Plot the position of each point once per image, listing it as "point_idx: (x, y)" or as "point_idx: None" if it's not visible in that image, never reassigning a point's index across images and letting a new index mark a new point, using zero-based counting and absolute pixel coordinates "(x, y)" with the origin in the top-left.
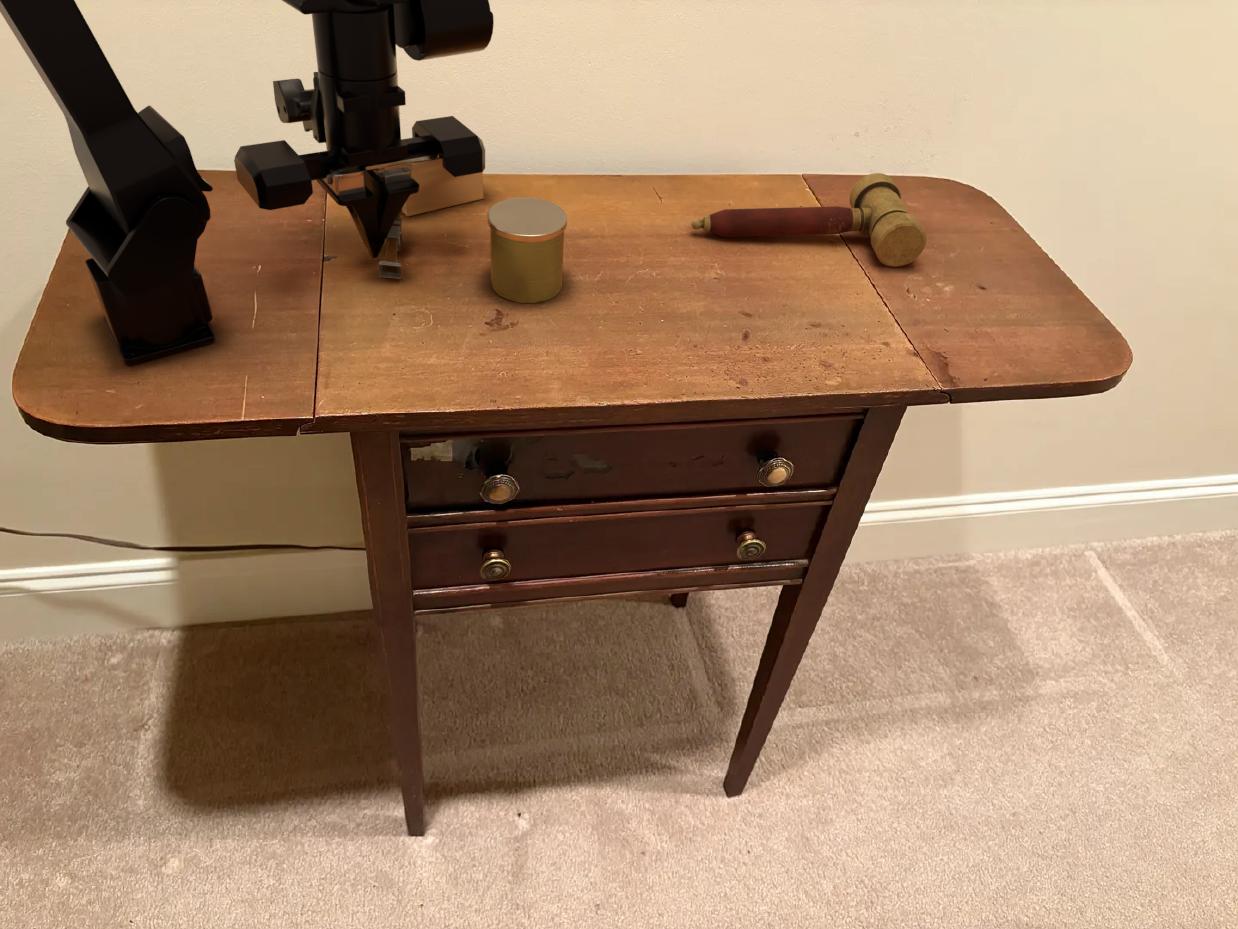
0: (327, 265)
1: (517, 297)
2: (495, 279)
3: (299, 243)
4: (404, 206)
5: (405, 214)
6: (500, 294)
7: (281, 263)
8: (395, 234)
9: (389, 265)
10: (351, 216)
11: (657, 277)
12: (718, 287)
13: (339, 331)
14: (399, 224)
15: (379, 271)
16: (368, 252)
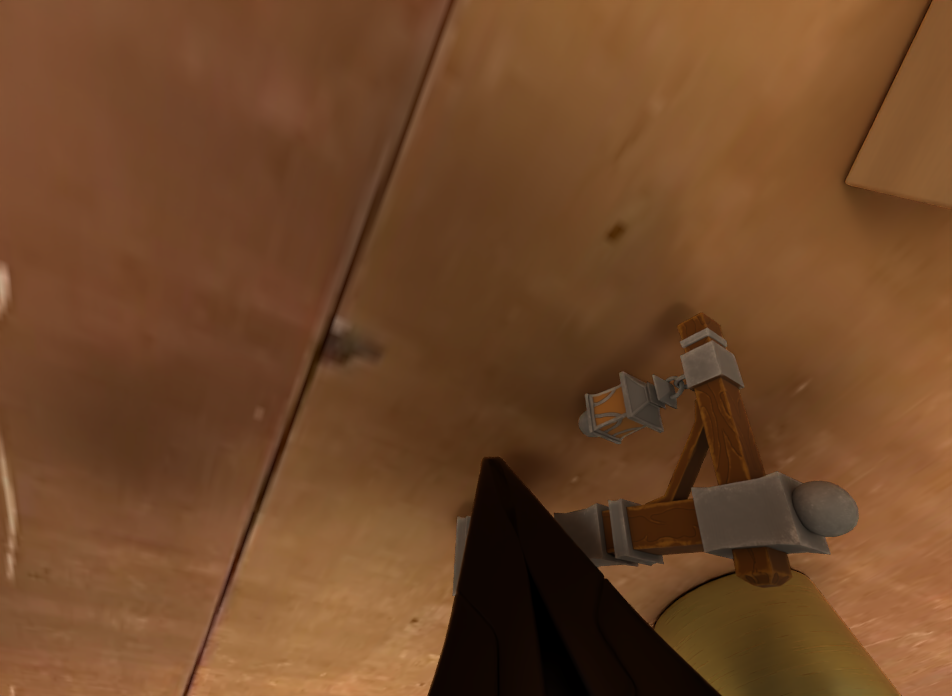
0: (324, 388)
1: None
2: None
3: (242, 152)
4: (898, 165)
5: (854, 161)
6: None
7: (120, 295)
8: (594, 563)
9: None
10: (453, 603)
11: (911, 649)
12: (932, 680)
13: (263, 633)
14: (646, 562)
15: (458, 542)
16: (481, 462)
